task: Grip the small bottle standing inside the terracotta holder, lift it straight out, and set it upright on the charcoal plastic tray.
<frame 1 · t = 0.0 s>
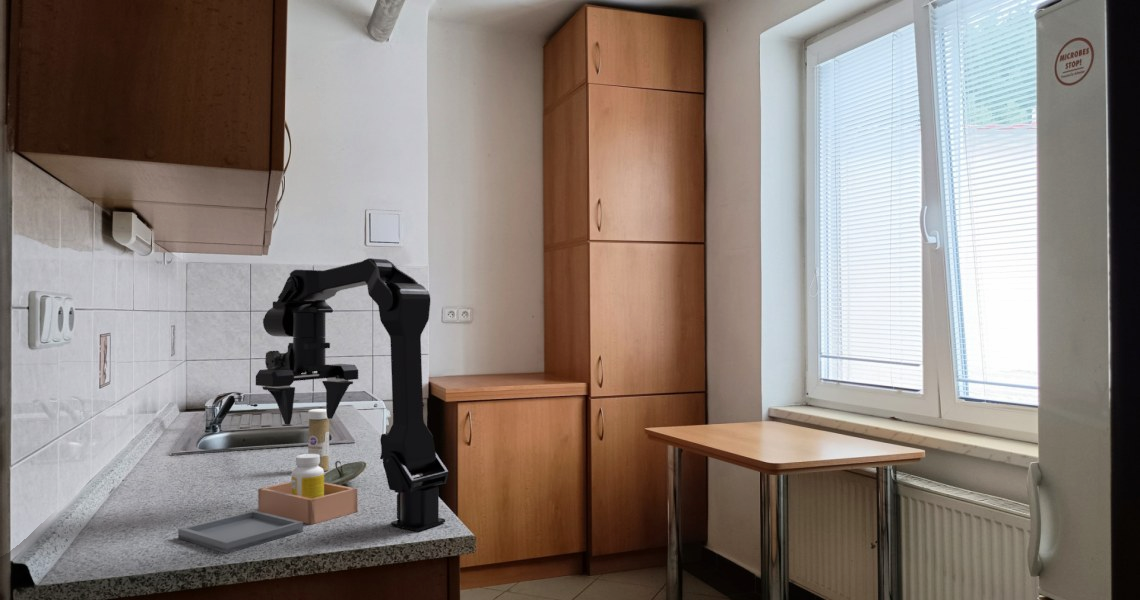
hand: (309, 421, 140), 15 cm above the counter, tool pointing down, fingers open, 9 cm apart
holder: (307, 511, 132), on the counter
sprinkles bottle: (318, 471, 166), on the counter
supplement bottle: (307, 512, 132), resting in holder
lid: (341, 485, 153), on the counter
tray: (241, 534, 118), on the counter
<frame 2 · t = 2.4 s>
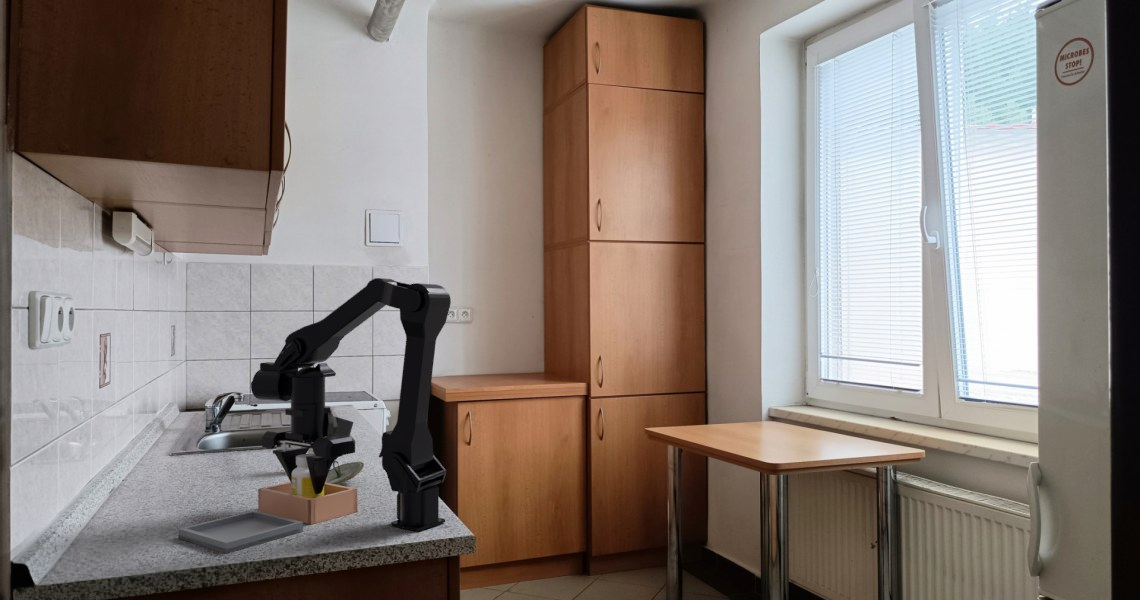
hand: (307, 491, 132), 4 cm above the counter, tool pointing down, fingers closed on supplement bottle, 5 cm apart
supplement bottle: (307, 512, 132), resting in holder, touching gripper
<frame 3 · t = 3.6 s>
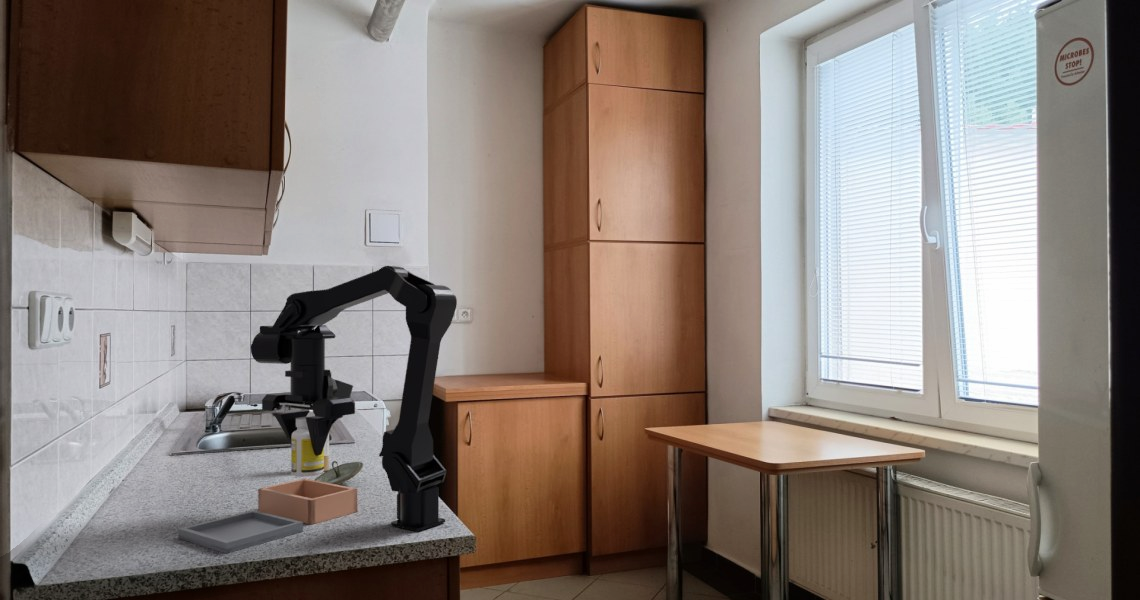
hand: (307, 453, 132), 10 cm above the counter, tool pointing down, fingers closed on supplement bottle, 5 cm apart
supplement bottle: (307, 475, 132), point 6 cm above the counter, touching gripper
everything else where it was.
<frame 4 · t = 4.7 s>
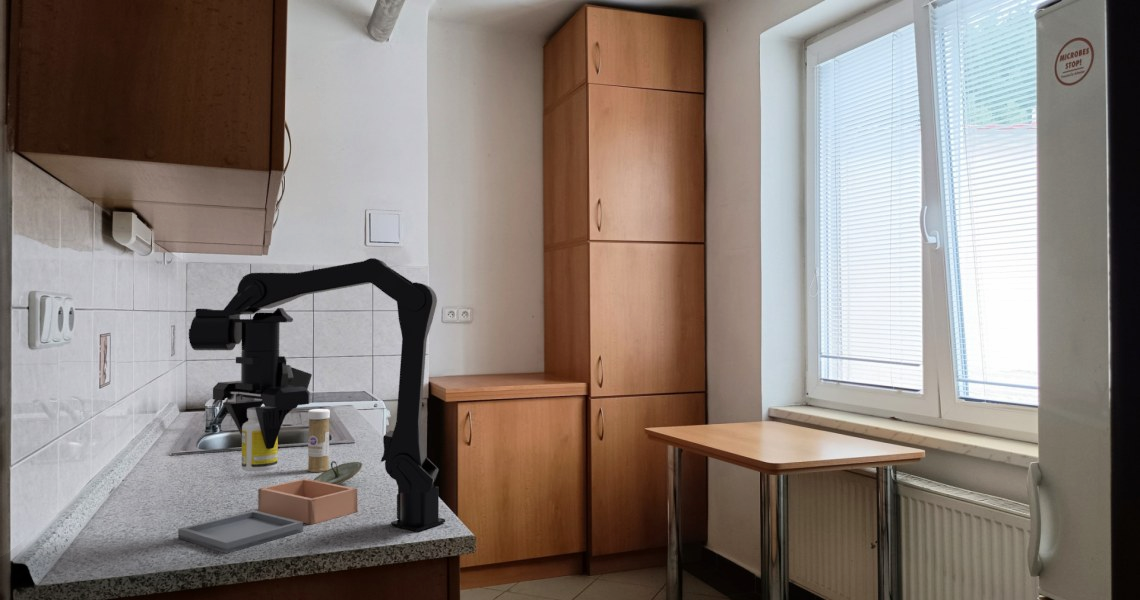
hand: (259, 446, 122), 13 cm above the counter, tool pointing down, fingers closed on supplement bottle, 5 cm apart
supplement bottle: (259, 469, 122), point 9 cm above the counter, touching gripper
everything else where it was.
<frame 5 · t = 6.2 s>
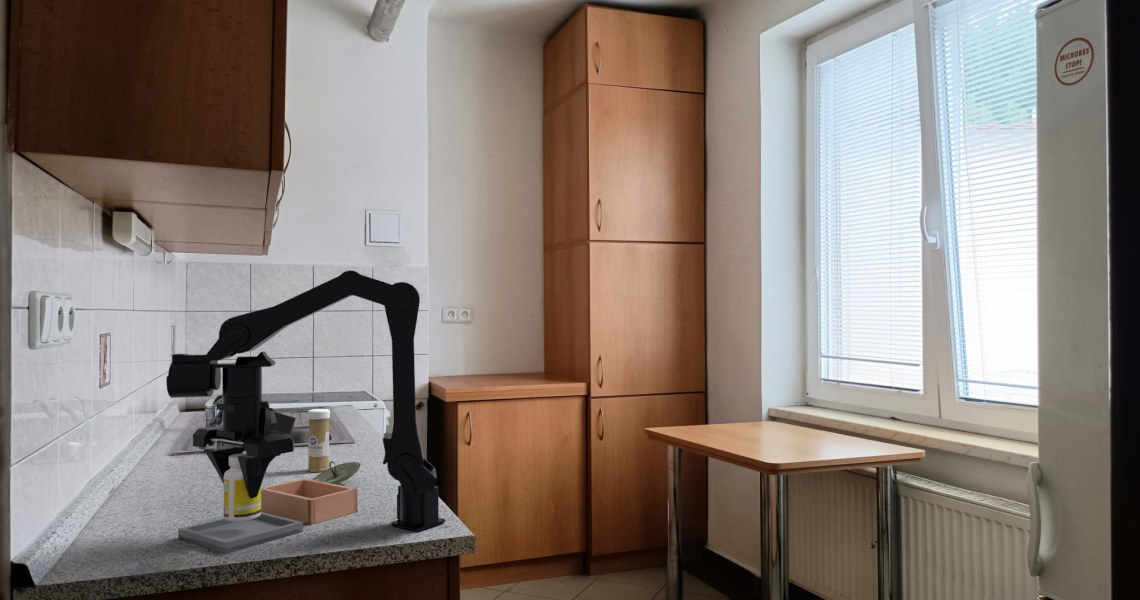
hand: (242, 495, 118), 6 cm above the counter, tool pointing down, fingers closed on supplement bottle, 5 cm apart
supplement bottle: (242, 519, 118), point 2 cm above the counter, touching gripper
when the fingers open (5 cm above the counter, at t = 7.2 s): supplement bottle drops 1 cm, resting on tray.
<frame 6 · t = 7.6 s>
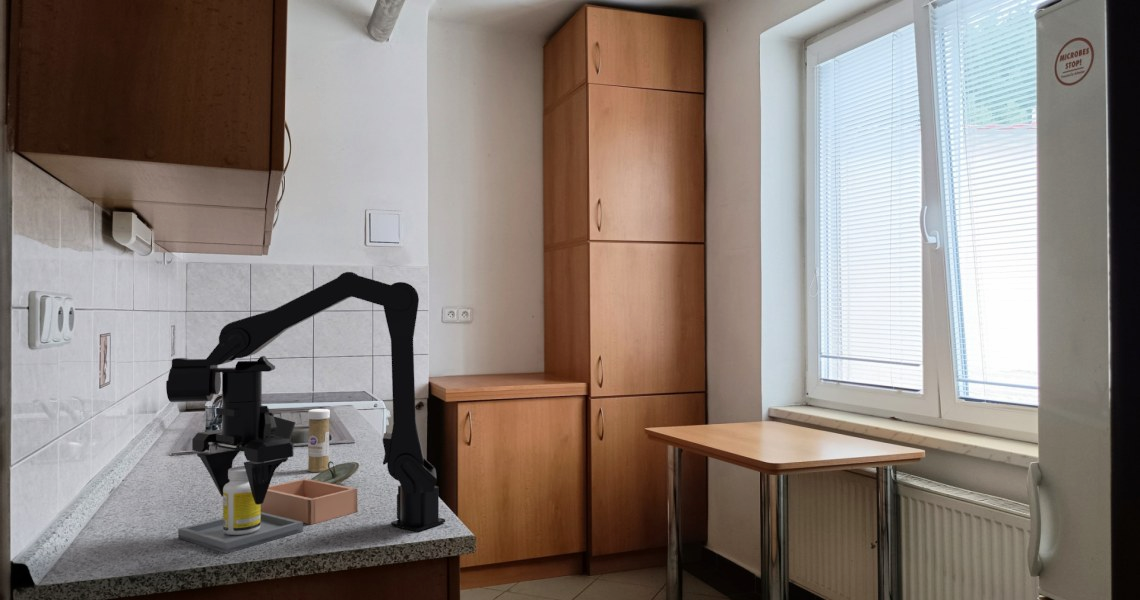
hand: (241, 499, 118), 5 cm above the counter, tool pointing down, fingers open, 9 cm apart
supplement bottle: (241, 532, 118), resting on tray
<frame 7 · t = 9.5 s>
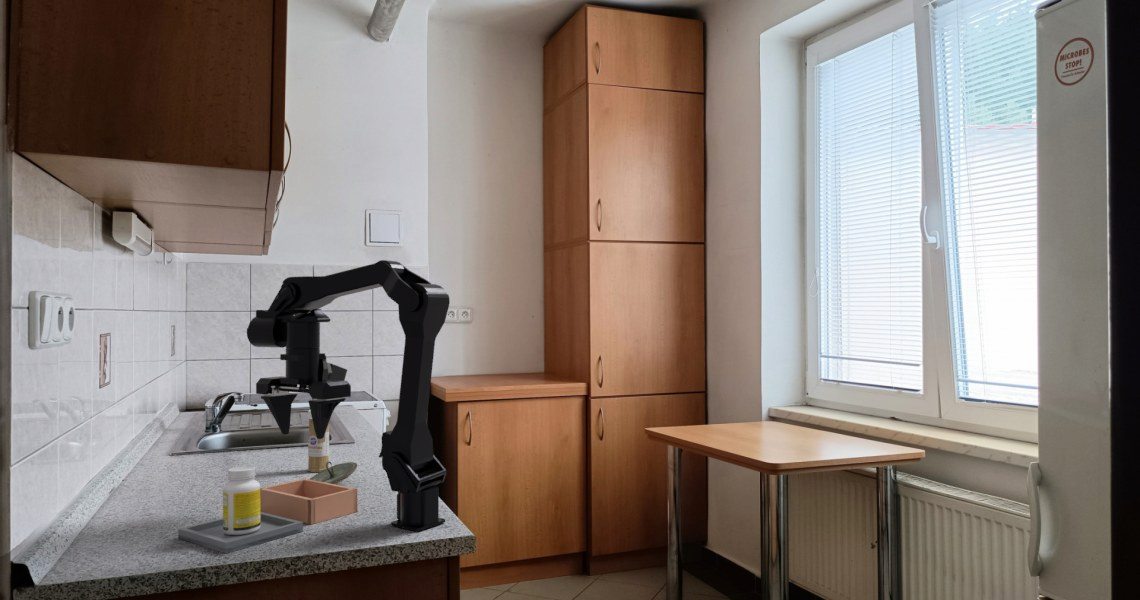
hand: (302, 436, 133), 13 cm above the counter, tool pointing down, fingers open, 9 cm apart
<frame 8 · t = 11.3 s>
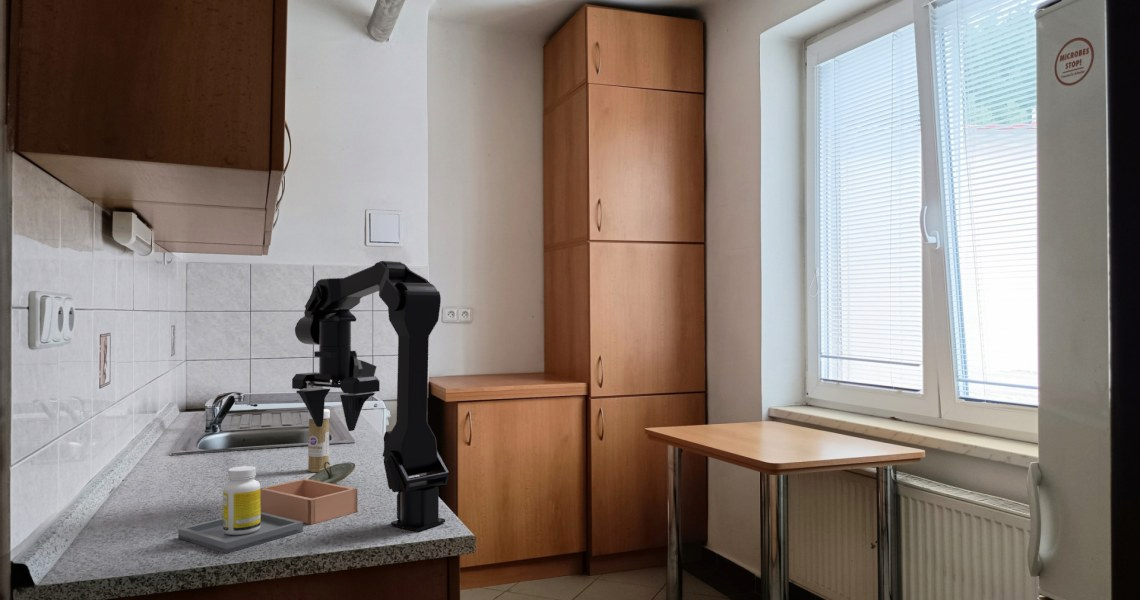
hand: (335, 428, 142), 13 cm above the counter, tool pointing down, fingers open, 9 cm apart
at the end: supplement bottle inside the target area on the tray (0.1 cm from its centre), point 0.4 cm above the tray's base; supplement bottle tilted 0°; the gripper is holding nothing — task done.
